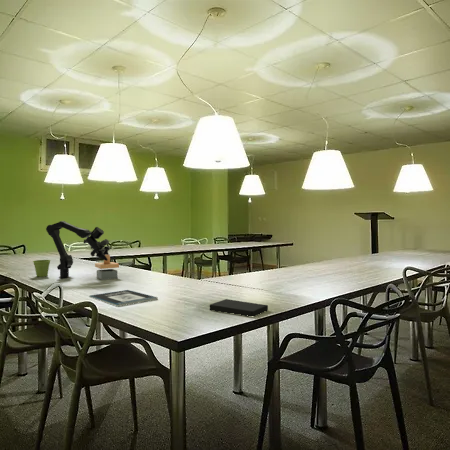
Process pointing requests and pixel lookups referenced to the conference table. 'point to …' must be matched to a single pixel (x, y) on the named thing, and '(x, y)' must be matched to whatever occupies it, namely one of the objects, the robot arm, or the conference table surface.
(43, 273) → the plant pot
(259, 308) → the external hard drive
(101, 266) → the lid
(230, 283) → the conference table surface
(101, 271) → the storage box
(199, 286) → the conference table surface
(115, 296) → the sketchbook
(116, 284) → the conference table surface
